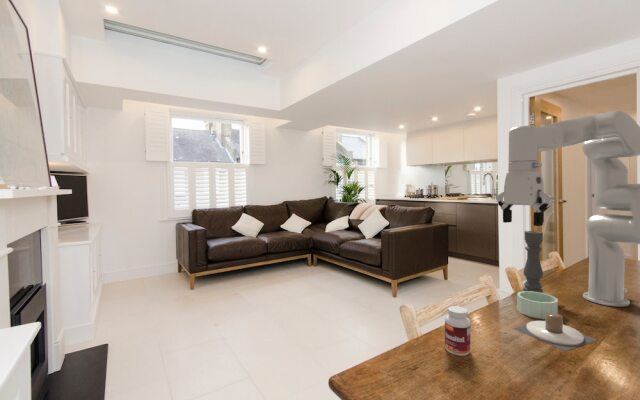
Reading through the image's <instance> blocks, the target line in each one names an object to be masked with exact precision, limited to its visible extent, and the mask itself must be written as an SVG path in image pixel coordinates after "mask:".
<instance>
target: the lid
mask: <svg viewBox="0 0 640 400" xmlns="http://www.w3.org/2000/svg"><path fill="white" fill-rule="evenodd" d="M544 320H545V321H542V320H531V321H530V322H528V323H526V325H527V331H528V332H529V333H530V334H531V335H533V336H535V337H537V338H539V339H541V340H544V341H547V342H551V343H555V344H560V345H580V344H582V343H583V341H584V336H583V335H584V334H583V333H581V332H580V331H579V330H577V329H575V328H573V327H571V326H569V325H565V324H564V317H563V315H562V314H559V313H558V314H556V313H546V314H545V319H544ZM582 334H583V335H582ZM539 339H538V340H539ZM541 340H540V341H541Z"/></svg>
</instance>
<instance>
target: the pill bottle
mask: <svg viewBox="0 0 640 400" xmlns="http://www.w3.org/2000/svg"><path fill="white" fill-rule="evenodd" d="M468 312H469V311H468V309H467V308H465V307H462V306H458V305H457V306H456V305H454V306H452V305H451V306H449V307H448V309H447V315H446V316H445V318H444V348H445V350H446V351H447V352H448V353H449V354H452V355H454V356H462V357H463V356H468V355H469V354H470V352H471V319H469V318H468V315H469V314H468Z"/></svg>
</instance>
